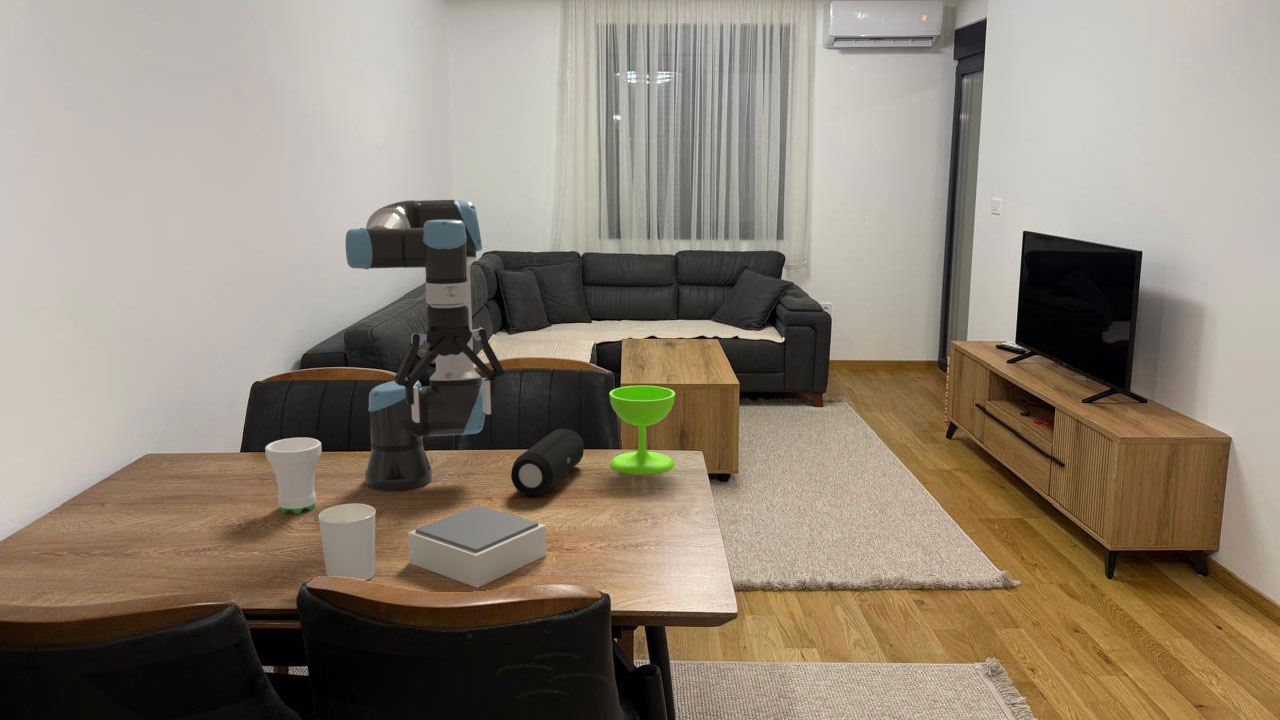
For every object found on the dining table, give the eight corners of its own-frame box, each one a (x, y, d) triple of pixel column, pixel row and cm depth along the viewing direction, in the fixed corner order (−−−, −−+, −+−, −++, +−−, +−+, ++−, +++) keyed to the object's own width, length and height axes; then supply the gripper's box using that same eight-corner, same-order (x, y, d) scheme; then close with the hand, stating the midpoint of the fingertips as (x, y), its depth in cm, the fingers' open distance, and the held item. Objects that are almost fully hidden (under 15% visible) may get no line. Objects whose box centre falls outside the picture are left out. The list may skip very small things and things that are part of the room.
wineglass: (599, 470, 237) (598, 397, 233) (624, 452, 251) (623, 383, 248) (661, 477, 231) (662, 403, 227) (683, 458, 246) (684, 388, 242)
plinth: (409, 563, 182) (407, 529, 181) (479, 533, 197) (478, 502, 195) (477, 587, 172) (476, 552, 171) (546, 555, 186) (545, 522, 185)
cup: (335, 507, 211) (330, 444, 208) (286, 521, 203) (281, 455, 200) (308, 495, 219) (304, 434, 216) (260, 508, 211) (255, 444, 208)
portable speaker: (549, 501, 216) (548, 457, 214) (507, 497, 218) (506, 454, 216) (587, 466, 240) (586, 427, 238) (549, 463, 242) (548, 424, 240)
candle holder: (329, 565, 181) (325, 504, 179) (383, 563, 182) (380, 502, 180) (316, 588, 172) (312, 523, 169) (374, 586, 173) (370, 521, 170)
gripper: (383, 312, 171) (389, 429, 176) (518, 303, 182) (521, 414, 186) (374, 306, 178) (380, 419, 182) (506, 298, 189) (509, 405, 193)
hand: (451, 417), depth 184 cm, fingers open, 13 cm apart
